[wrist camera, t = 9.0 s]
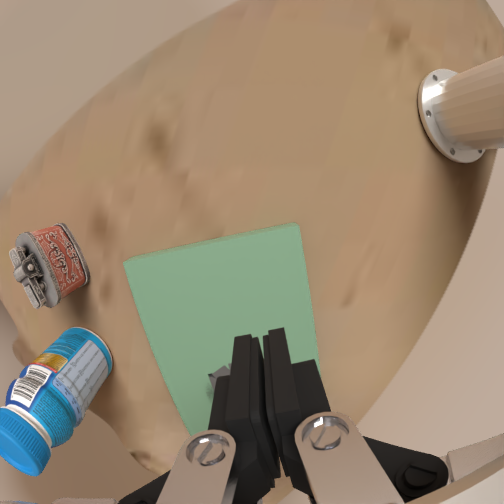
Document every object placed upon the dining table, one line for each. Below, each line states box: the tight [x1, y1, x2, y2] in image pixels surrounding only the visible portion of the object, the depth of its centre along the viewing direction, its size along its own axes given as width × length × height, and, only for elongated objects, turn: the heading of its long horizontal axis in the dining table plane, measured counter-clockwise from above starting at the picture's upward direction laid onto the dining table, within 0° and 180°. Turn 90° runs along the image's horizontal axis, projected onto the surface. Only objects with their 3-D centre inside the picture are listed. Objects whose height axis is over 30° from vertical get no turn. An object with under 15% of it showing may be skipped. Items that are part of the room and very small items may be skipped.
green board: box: [123, 222, 321, 436], centre depth 32 cm, size 26×18×2 cm
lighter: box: [9, 223, 90, 309], centre depth 26 cm, size 8×3×10 cm, turn 25°
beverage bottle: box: [0, 327, 112, 476], centre depth 24 cm, size 8×8×20 cm
